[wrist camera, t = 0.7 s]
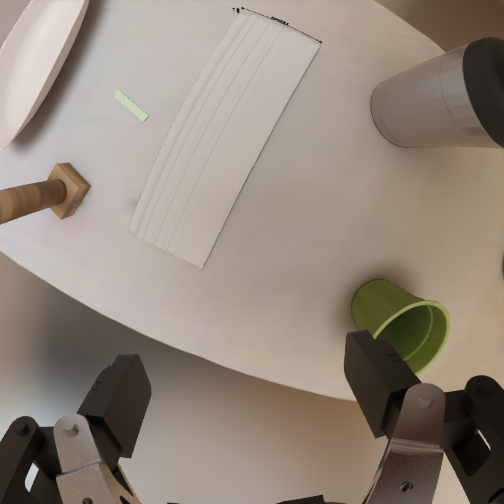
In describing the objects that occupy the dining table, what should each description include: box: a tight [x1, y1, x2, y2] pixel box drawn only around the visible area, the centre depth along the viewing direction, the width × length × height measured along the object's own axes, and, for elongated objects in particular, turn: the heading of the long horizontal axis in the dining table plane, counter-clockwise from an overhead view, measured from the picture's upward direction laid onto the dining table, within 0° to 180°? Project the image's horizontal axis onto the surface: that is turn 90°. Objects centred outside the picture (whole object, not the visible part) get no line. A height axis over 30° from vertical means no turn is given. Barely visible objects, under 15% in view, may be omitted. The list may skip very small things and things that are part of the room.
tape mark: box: [113, 90, 149, 122], centre depth 28 cm, size 1×6×1 cm, turn 45°
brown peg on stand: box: [0, 163, 91, 225], centre depth 22 cm, size 5×5×18 cm
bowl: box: [0, 0, 90, 150], centre depth 21 cm, size 30×15×6 cm, turn 160°
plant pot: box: [351, 279, 450, 376], centre depth 31 cm, size 12×12×11 cm
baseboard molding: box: [128, 7, 322, 268], centre depth 28 cm, size 31×3×12 cm
